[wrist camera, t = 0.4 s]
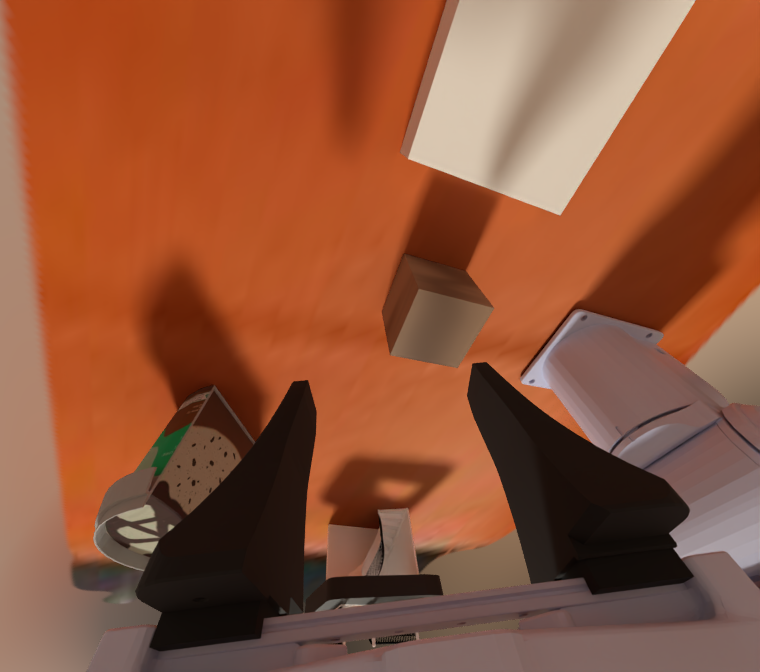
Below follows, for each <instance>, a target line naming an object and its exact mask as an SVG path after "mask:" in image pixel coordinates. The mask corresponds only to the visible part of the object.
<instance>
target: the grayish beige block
mask: <svg viewBox="0 0 760 672" xmlns="http://www.w3.org/2000/svg"><path fill="white" fill-rule="evenodd" d="M493 309H494V307H493V306H492V305H491V303H490V302H489V301H488V299H487V298H486V297H485V295H484V294H483V293H482V292H481V290H480V289H479V288H478V286H477V285H476V284H475V282H474V281H473V280H472V278H471V277H470V276H469V275H468V273H467V272H466V271H464V270H460V269H457V268H453V267H450V266H446V265H443V264H439V263H436V262H432V261H429V260H425V259H422V258H418V257H415V256H411V255H408V254H403V257H402V260H401V262H400V265H399V267H398V270H397V273H396V275H395V278H394V281H393V283H392V286H391V289H390V291H389V294H388V297H387V299H386V302H385V305H384V307H383V310H382V316H383V321H384V326H385V331H386V336H387V342H388V347H389V352H390V355H392V356H397V357H402V358H408V359H413V360H418V361H423V362H429V363H434V364H439V365H445V366H450V367H455V368H458V366H459V365H460V363H461V362H462V360H463V358H464V357H465V355H466V353H467V352H468V350H469V348H470V347H471V345H472V344H473V342H474V340H475V339H476V337H477V335H478V334H479V332H480V331H481V329H482V327H483V326H484V324H485V322H486V321H487V319H488V318H489V316H490V314H491V313H492V311H493Z"/></svg>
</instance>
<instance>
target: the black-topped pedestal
mask: <svg viewBox="0 0 760 672" xmlns="http://www.w3.org/2000/svg"><path fill="white" fill-rule="evenodd" d="M378 515H379V524H380V526H379V529H371V528H361V527H351V526H341V525H332V524H329V525H328V545H327V571H326V581H325V582H324V583H323V584H322V585H321V586H320V587H319V588H317V589H316V590H315V591H314V592H313V593H312V594H311V595H310V596H309V597H308V598H307V599H306V606H305V613H310V612H318V611H326V610H334V609H342V608H349V607H357V606H365V605H373V604H380V603H388V602H396V601H404V600H412V599H419V598H427V597H435V596H443V591H442V587H441V582H440V578H439V576H438V575H425V574H419V572H418V566H417V559H416V553H415V547H414V541H413V535H412V528H411V522H410V516H409V510H408V508H403V509H387V510H379V509H378ZM407 635H408V636H412V635H413V636H416V638H415V640H419V633H418V632H417V633H415V634H414V633H412V635H411V633H409V634H407ZM407 635H406V634H404V635H399V636H403V638H404V636H407ZM394 636H396V635H394ZM394 636H393V637H394ZM397 636H398V635H397ZM387 637H390V636H387ZM391 637H392V636H391ZM379 638H380V637H379ZM381 638H382V637H381ZM410 638H411V637H410ZM395 639H396V638H395ZM369 641H370V643H371V644H372V647H375V646H376V645H377V644H398V643H403V640H402V642H401V639H400V642H398V641H397V642H396V640H395V642H393V641H394V640H393V641H392V642H391V639H390V642H389V638H388V642H386V641H385V642H384V640H383V642H382V640H381V642H379V641H378V642H377V641H376V642H375V638H372V641H371V639H369ZM410 641H411V639H410ZM412 641H413V640H412ZM404 642H408V640H407V641H406V640H405V641H404ZM335 644H337V643H335ZM338 644H342V645H345V642H341V643H338Z"/></svg>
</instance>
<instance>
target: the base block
mask: <svg viewBox="0 0 760 672" xmlns="http://www.w3.org/2000/svg"><path fill="white" fill-rule="evenodd" d="M695 1H696V0H447V1H446V5H445V8H444V11H443V14H442V18H441V21H440V24H439V27H438V31H437V34H436V37H435V40H434V43H433V47H432V50H431V53H430V56H429V60H428V63H427V66H426V69H425V73H424V76H423V79H422V82H421V86H420V89H419V92H418V95H417V98H416V102H415V105H414V108H413V111H412V115H411V118H410V121H409V124H408V128H407V131H406V134H405V137H404V140H403V144H402V147H401V150H400V153H401V154H402V155H404V156H405V157H406V158H408V159H410V160H413V161H416V162H418V163H421V164H424V165H426V166H429V167H432V168H435V169H437V170H440V171H443V172H445V173H448V174H451V175H453V176H456V177H459V178H461V179H464V180H467V181H469V182H472V183H475V184H477V185H480V186H483V187H485V188H488V189H491V190H493V191H496V192H499V193H501V194H504V195H507V196H510V197H512V198H515V199H518V200H520V201H523V202H526V203H528V204H531V205H534V206H536V207H539V208H542V209H544V210H547V211H550V212H552V213H555V214H558V215H561V213H562V212H563V210H564V209H565V207H566V205H567V204H568V202H569V201H570V199H571V198H572V196H573V194H574V193H575V191H576V190H577V188H578V186H579V185H580V183H581V182H582V180H583V178H584V177H585V175H586V174H587V172H588V171H589V169H590V167H591V166H592V164H593V163H594V161H595V159H596V158H597V156H598V155H599V153H600V152H601V150H602V148H603V147H604V145H605V144H606V142H607V140H608V139H609V137H610V136H611V134H612V132H613V131H614V129H615V128H616V126H617V125H618V123H619V121H620V120H621V118H622V117H623V115H624V113H625V112H626V110H627V109H628V107H629V105H630V104H631V102H632V101H633V99H634V98H635V96H636V94H637V93H638V91H639V90H640V88H641V86H642V85H643V83H644V82H645V80H646V78H647V77H648V75H649V74H650V72H651V71H652V69H653V67H654V66H655V64H656V63H657V61H658V59H659V58H660V56H661V55H662V53H663V52H664V50H665V48H666V47H667V45H668V44H669V42H670V40H671V39H672V37H673V36H674V34H675V32H676V31H677V29H678V28H679V26H680V25H681V23H682V21H683V20H684V18H685V17H686V15H687V13H688V12H689V10H690V9H691V7H692V5H693V4H694V2H695Z"/></svg>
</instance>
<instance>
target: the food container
mask: <svg viewBox="0 0 760 672" xmlns="http://www.w3.org/2000/svg"><path fill="white" fill-rule="evenodd" d="M254 443H255V441H254V440H253V438H252V437H251V435H250V434H249V433H248V431H247V430H246V428H245V427H244V426H243V424H242V423H241V421H240V420H239V419H238V417H237V416H236V414H235V413H234V412H233V410H232V409H231V407H230V406H229V405H228V403H227V402H226V400H225V399H224V398H223V396H222V395H221V393H220V392H219V391H218V389H217V388H216V387H215V385H213V386H209V387H205V388H201V389H200V390H198V391H196V392H195V393H193V394H191V395H189V396H188V397H187V398H186V400H185V401H184V402H183V404H182V405H181V407H180V408H179V409H178V411H177V412H176V414H175V415H174V416H173V418H172V419H171V421H170V422H169V424H168V425H167V426H166V428H165V429H164V431H163V432H162V434H161V435H160V436H159V438H158V439H157V441H156V442H155V443H154V445H153V446H152V448H151V449H150V451H149V452H148V453H147V455H146V456H145V458H144V459H143V461H142V462H141V463H140V465H139V466H138V468H137V469H136V470H135V472H134V473H131V474H129V475H127V476H125V477H123V478H121V479H119V480H118V481H116V482H115V483H114V484H113V485H112V486H111V487H110V488H109V489H108V491H107V492H106V494H105V496H104V499H103V502H102V504H101V507H100V510H99V512H98V515H97V518H96V522H95V529H96V530H95V532H94V538H93V540H94V543H95V546H96V547H97V548H98V550H99V551H100V552H101V553H103V554H104V555H105V556H106V557H108V558H110V559H112V560H113V561H115V562H118V563H120V564H122V565H125V566H128V567H131V568H134V569H138V570H142V571H144V570H145V568H146V566H147V563H148V561H149V559H150V557H151V555H152V553H153V551H154V549H155V547H156V545H157V543H158V541H159V539H161V538H162V537H163V536H164V535H165V534H167V533H168V532H169V531H170V530H171V529H172V528H174V527H175V526H176V525H177V524H178V523H179V522H180V521H182V520H183V519H184V518H185V517H186V516H187V515H189V514H190V513H191V512H192V511H193V510H194V509H195V508H196V507H197V506H198V505H199V504H200V503H201V502H202V501H203V500H204V499H205V498H206V497H207V496H208V495H209V494H210V493H212V492H213V491H214V490H215V489H216V488H217V487H218V486H219V484H220V483H221V482H222V481H223V480H224V479H225V478H226V477H227V476H228V475H229V474H230V472H231V471H232V470H233V469H234V468H235V467H236V466H237V465H238V463H239V462H240V461H241V460H242V459H243V457H244V456H245V455H246V454H247V452H248V451H249V450H250V449H251V447H252V446H253V445H254Z"/></svg>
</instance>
